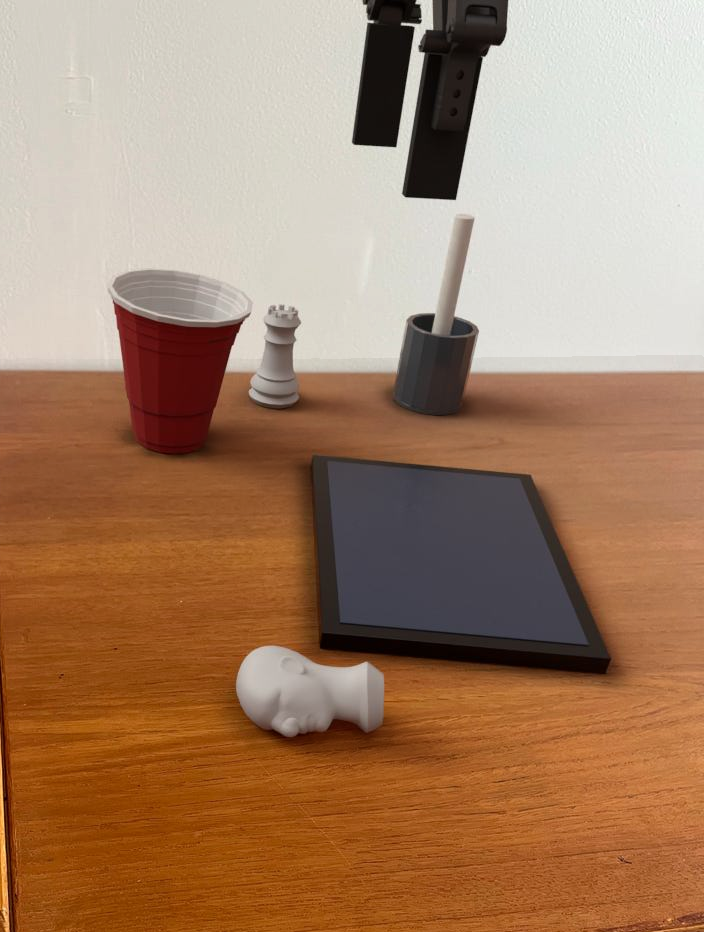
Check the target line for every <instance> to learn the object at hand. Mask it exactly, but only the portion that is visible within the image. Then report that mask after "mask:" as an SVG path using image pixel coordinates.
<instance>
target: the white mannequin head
mask: <svg viewBox="0 0 704 932" xmlns="http://www.w3.org/2000/svg"><path fill="white" fill-rule="evenodd" d="M238 669H239V670H238V672H237V676H236V683H235V690H236V695H237V698H238V701H239V704H240V707H241V708H242V710H243V712H244V714H245V715H246V717H248V718H249V719H250V720H251V721H252V722H253V723H254V724H255V725H256V726H258V727H259V728H260V729H262V730H267V731H270V730H271V731H272V730H274V731H276V732H278V733H279V734H281V735H282V736H284V737H286V738H294V737H296V736H297V735H298V734H307V732H309V733H310V732H318V733H324V732H326V731H327V730H328V729H329V727H330V725H331V723H332V722H333V721H334V720H341V721H345V722H349V723H353V724H355V725H357V727H359V728H360V730H362V731H363V732H364V733H365V734H367V733H370V732H372V731H374V730H376V729H378V728H381V727H382V726H383V721H384V710H385V675H384V673H383V672H382V671H381V670H379V669H378V668H376V667H375V666H374V665H372V664H371V663H370V662H368V661H364V662H362V663H359V664H356V665H352V666H329V665H322V664H319V663H316V662H314V661H312V660H311V659H309V658H308V657H306V656H304V655H303V654H301V653H299V652H297V651H294V650H292V649H290V648H288V647H284V646H280V645H264V646H260V647H257V648H255V649H253V650H252V651H251V652H250V653H248V655H246V657H245V658H244V659H243V660H242V663H241V665H240V667H239V668H238Z"/></svg>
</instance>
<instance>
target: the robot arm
mask: <svg viewBox="0 0 704 932" xmlns="http://www.w3.org/2000/svg"><path fill="white" fill-rule="evenodd" d="M361 2H362V5H363V6H366V8H365V13H366V17H367V21H369V22H367V23H366V30H365V31H366V32H365V37H364V38H365V39H364V45H363V53H362V60H361V61H362V62H361V70H360V76H359V77H360V78H359V85H358V92H357V100H356V106H355V107H356V108H355V115H354V123H353V131H352V136H351V137H352V138H351V143H352V144H353V145H354V146H363V147H364V146H365V147H379V148H380V147H384V148H397V145H398V139H399V135H400V134H399V133H400V127H401V120H402V112H403V107H404V101H405V93H406V88H407V81H408V74H409V68H410V62H411V55H412V49H413V43H414V36H415V29H416V26H413V25H421V24H422V22H423V19H422V18H423V17H422V8H421V6H422V5H421V3H417V0H362V1H361ZM508 9H509V0H432V29H425V31H424V33H423V35H422V37H421V39H420V41H419V44H418V45H417V46H418V52H419V53H422V54H423V60H422V66H421V67H422V68H421V73H420V78H419V79H420V80H419V85H418V92H417V97H416V104H415V111H414V116H413V123H412V128H411V136H410V141H409V147H408V154H407V161H406V167H405V173H404V180H403V185H402V191H401V195H402V196H403V197H404V198H409V199H426V200H445V201H457V197H458V191H459V186H460V183H461V176H462V171H463V165H464V160H465V155H466V149H467V145H468V139H469V133H470V128H471V123H472V118H473V112H474V107H475V102H476V96H477V92H478V86H479V81H480V76H481V70H482V66H483V59H484V58H486V57H487V55H488V54H489V51H490V48H491V47H492V46H493V47H500V46H502V44H503V42H505V40H506V36H507V31H508V13H509V12H508V11H509V10H508ZM370 21H371V22H370ZM404 24H406V25H404ZM407 24H411V25H407Z"/></svg>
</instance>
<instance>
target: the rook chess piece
mask: <svg viewBox="0 0 704 932" xmlns="http://www.w3.org/2000/svg"><path fill="white" fill-rule="evenodd" d="M285 306H286V304H282V303H281V304H280V303H279V304H278V309H276V308H277V305H276V304H271V305H270V306H269V307H268V309H267V313H266V314H265V315H264V316H263V317H262V321H263V323H264V324H265V327H266V328H267V329H266V332H265V334H264V335H263V339H264V341H265V342H264V351H263V353H262V357H261V362H260V364H259V367H258V368H257V369H256V373H255V374H254V375H253V376H252V377H251V379H250V381H249V382H250V386H251V388H250V389H249V390H248V396H249V397H250V399H251V401H252V402H254V403H255V404H257V405H258V406H261V407H265V408H268V409H287V408H290V407H292V406H293V405H295V403H297V401H298V400H299V399H300V396H299V393H297V392H298V390H299V389H300V383H299V380H298V379H297V377H296V376H297V374H296V371H295V370H294V345H295V343H296V342H297V338H296V335H295V333H296V330H297V329H298V328H299V326H300V325H301V324H302V320H301V319H300V318H299V309H297V308H296V307H295V306H292V305H289V306H288V309H287V310H286V309H285Z"/></svg>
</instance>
